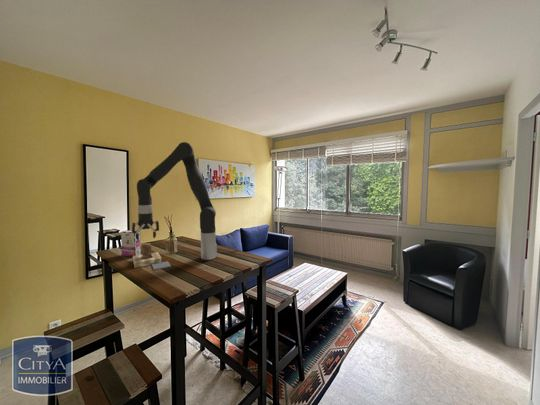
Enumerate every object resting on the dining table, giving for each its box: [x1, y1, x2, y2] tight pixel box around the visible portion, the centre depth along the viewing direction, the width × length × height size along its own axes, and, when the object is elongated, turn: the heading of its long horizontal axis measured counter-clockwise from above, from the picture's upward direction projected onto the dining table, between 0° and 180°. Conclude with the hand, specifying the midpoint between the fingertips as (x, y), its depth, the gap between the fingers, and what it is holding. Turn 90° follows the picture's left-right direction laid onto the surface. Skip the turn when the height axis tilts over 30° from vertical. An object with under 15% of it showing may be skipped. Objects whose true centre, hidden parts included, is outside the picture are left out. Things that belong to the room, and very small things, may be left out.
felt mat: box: [151, 261, 172, 271], centre depth 130 cm, size 9×9×1 cm
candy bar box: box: [120, 229, 142, 258], centre depth 147 cm, size 11×5×16 cm, turn 76°
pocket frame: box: [132, 251, 163, 269], centre depth 137 cm, size 14×14×3 cm
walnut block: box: [141, 242, 152, 259], centre depth 136 cm, size 4×4×11 cm
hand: (146, 238), depth 135 cm, fingers open, 8 cm apart
